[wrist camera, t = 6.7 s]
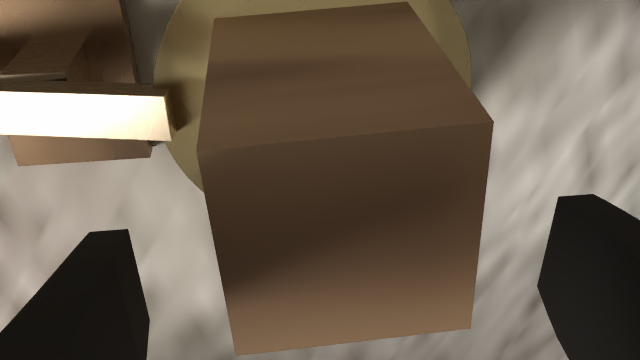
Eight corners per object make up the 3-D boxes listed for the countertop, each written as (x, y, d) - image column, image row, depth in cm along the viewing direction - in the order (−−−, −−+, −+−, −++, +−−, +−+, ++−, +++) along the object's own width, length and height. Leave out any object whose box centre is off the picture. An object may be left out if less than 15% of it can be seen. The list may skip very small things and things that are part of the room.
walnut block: (403, 164, 17) (470, 328, 12) (239, 181, 17) (236, 355, 12) (407, 1, 14) (493, 121, 9) (214, 18, 14) (196, 150, 9)
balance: (426, 155, 21) (459, 226, 18) (-262, 202, 19) (-368, 290, 16) (448, -100, 16) (499, -69, 13) (-441, -66, 15) (-636, -22, 12)
